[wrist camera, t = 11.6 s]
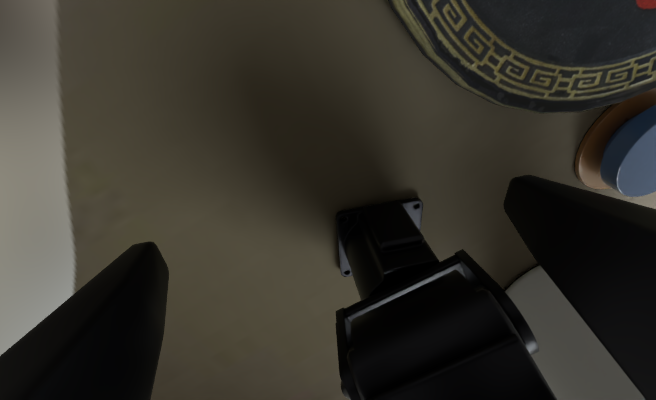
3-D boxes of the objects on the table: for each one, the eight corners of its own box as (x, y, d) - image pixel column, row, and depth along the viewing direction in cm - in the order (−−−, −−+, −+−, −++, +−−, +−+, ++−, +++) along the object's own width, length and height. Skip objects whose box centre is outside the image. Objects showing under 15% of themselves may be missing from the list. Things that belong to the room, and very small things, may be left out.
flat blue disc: (649, 173, 27) (681, 188, 25) (574, 187, 26) (600, 204, 24) (699, 88, 23) (741, 97, 21) (611, 101, 22) (647, 113, 20)
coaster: (649, 177, 27) (653, 180, 27) (559, 194, 26) (563, 197, 26) (709, 73, 23) (716, 75, 22) (602, 89, 22) (607, 91, 21)
